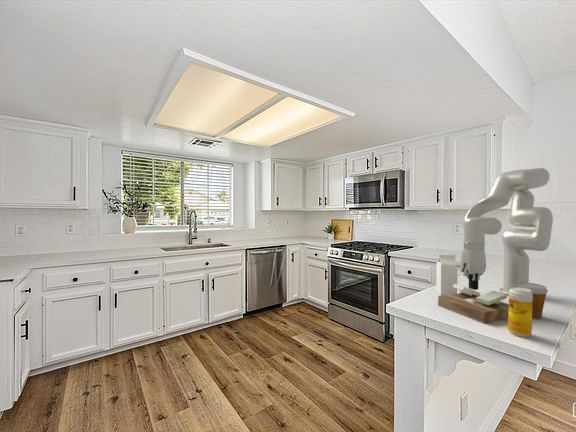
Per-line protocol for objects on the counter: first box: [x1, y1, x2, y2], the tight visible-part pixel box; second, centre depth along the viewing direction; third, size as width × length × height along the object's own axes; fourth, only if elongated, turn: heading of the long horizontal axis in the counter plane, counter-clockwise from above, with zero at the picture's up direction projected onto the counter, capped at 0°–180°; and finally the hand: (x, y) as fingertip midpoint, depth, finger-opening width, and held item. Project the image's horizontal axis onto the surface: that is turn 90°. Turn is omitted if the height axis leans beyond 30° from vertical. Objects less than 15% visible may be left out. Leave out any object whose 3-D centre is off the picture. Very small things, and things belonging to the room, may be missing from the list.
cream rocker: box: [453, 284, 481, 296], centre depth 122 cm, size 10×5×2 cm, turn 110°
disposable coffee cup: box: [516, 282, 549, 320], centre depth 110 cm, size 10×10×12 cm
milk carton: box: [435, 254, 459, 296], centre depth 138 cm, size 7×7×19 cm
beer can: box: [507, 287, 533, 338], centre depth 95 cm, size 6×6×15 cm
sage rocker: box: [476, 290, 508, 305], centre depth 112 cm, size 10×5×2 cm, turn 109°
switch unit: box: [437, 292, 509, 324], centre depth 116 cm, size 18×20×5 cm
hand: (473, 288), depth 123 cm, fingers closed
